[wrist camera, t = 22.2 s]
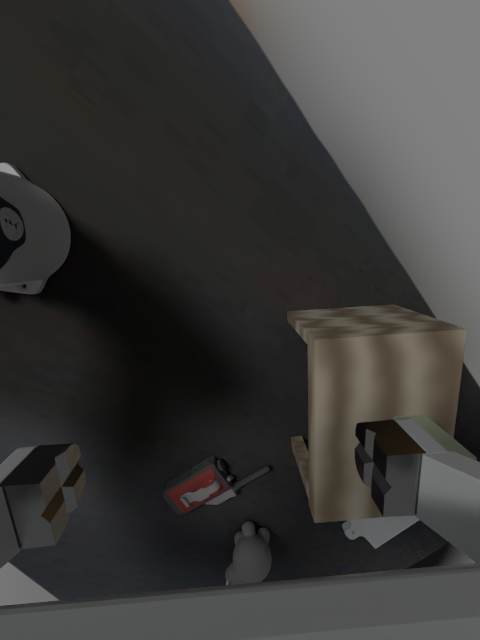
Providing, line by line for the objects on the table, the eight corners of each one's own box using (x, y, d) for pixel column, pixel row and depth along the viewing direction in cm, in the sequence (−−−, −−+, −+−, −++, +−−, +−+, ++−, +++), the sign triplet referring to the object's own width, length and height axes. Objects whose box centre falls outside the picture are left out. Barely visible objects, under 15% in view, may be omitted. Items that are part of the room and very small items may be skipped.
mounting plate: (399, 457, 58) (405, 464, 57) (433, 498, 61) (440, 506, 59) (325, 508, 61) (328, 517, 59) (361, 546, 63) (365, 555, 61)
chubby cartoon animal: (211, 553, 61) (209, 600, 53) (246, 512, 59) (249, 555, 51) (239, 568, 63) (241, 616, 54) (275, 529, 61) (282, 573, 52)
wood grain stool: (290, 447, 56) (314, 523, 41) (287, 311, 50) (314, 339, 35) (384, 439, 57) (444, 511, 41) (393, 304, 51) (466, 329, 35)
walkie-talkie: (184, 515, 59) (271, 466, 58) (181, 536, 55) (275, 484, 53) (158, 483, 57) (247, 432, 56) (152, 503, 53) (249, 448, 51)
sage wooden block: (391, 448, 39) (432, 498, 31) (393, 416, 38) (437, 460, 30) (421, 445, 39) (470, 495, 31) (425, 414, 38) (476, 457, 30)
